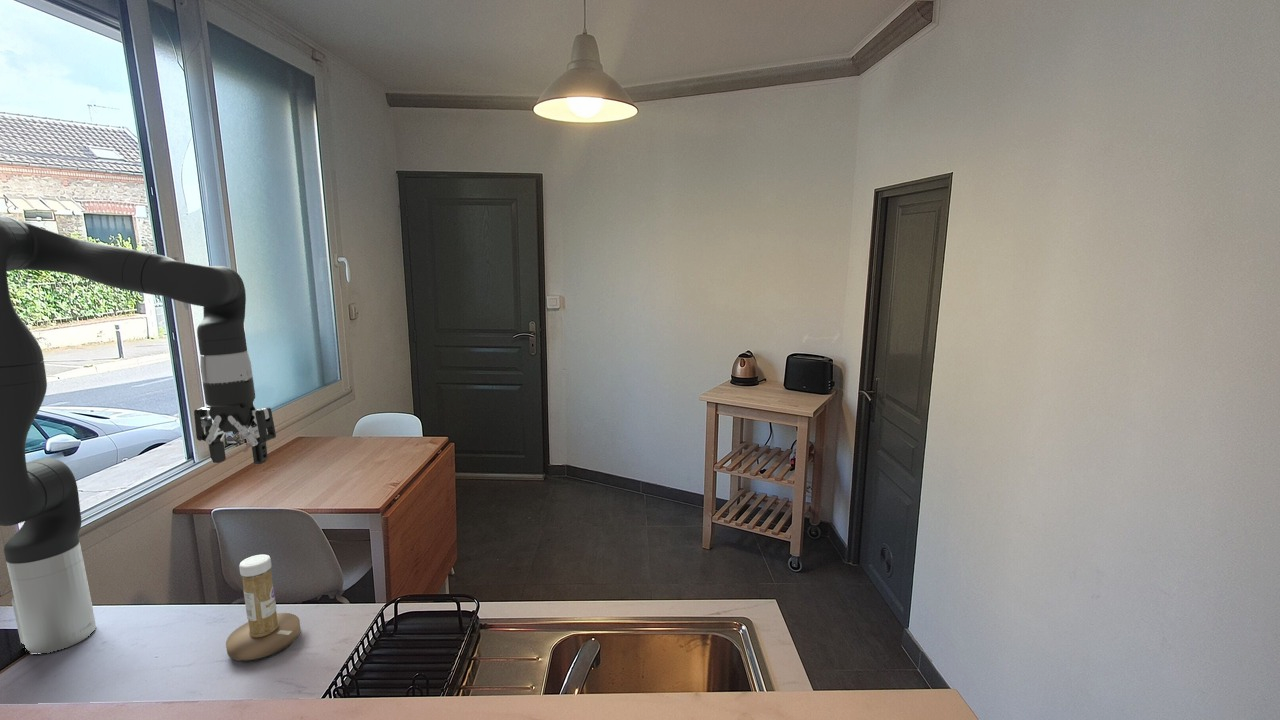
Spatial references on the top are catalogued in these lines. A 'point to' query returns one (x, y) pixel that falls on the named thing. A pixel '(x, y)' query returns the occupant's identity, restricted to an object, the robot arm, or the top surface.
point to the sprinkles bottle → (259, 595)
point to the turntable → (263, 639)
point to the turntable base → (266, 656)
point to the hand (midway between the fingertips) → (240, 462)
